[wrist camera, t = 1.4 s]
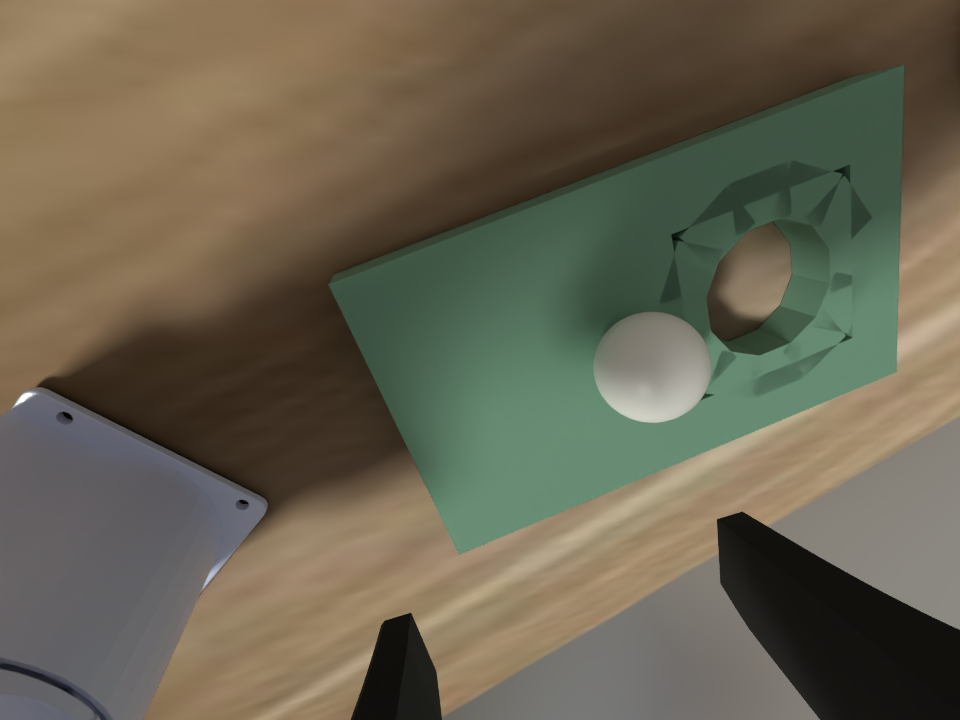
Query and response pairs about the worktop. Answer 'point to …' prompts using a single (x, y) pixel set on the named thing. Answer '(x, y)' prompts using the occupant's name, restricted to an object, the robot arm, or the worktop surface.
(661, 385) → the ball
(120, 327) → the worktop surface
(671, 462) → the putting mat
